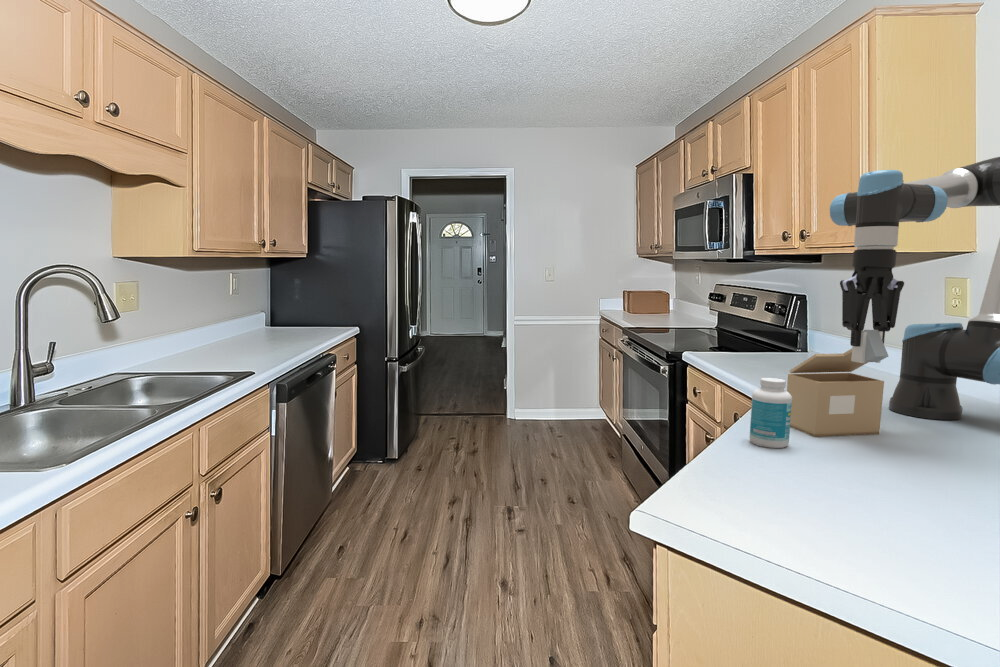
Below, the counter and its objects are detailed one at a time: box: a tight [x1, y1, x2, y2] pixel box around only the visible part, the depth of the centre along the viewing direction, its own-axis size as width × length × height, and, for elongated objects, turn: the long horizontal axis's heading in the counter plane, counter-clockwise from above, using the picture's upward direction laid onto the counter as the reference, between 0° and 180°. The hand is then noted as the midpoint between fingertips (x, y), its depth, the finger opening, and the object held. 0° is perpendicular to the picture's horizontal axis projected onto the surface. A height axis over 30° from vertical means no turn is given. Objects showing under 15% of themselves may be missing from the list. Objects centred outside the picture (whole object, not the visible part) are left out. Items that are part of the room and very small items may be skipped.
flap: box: [789, 329, 889, 374], centre depth 126 cm, size 16×18×6 cm
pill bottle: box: [749, 377, 792, 449], centre depth 119 cm, size 8×7×14 cm
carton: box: [786, 372, 885, 438], centre depth 130 cm, size 16×10×12 cm, turn 100°
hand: (865, 361), depth 121 cm, fingers closed on flap, 3 cm apart
